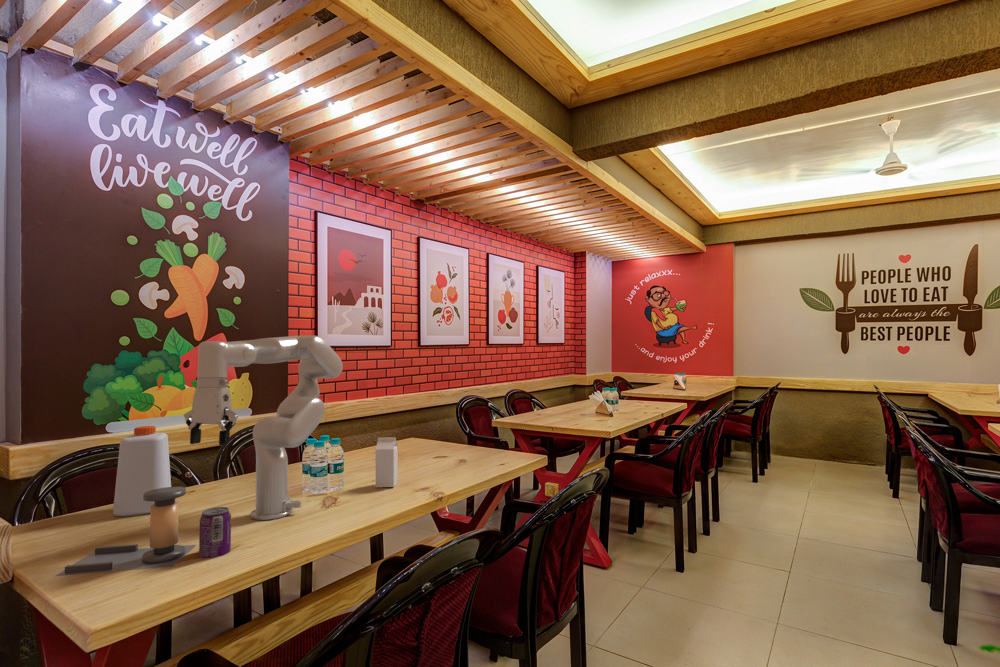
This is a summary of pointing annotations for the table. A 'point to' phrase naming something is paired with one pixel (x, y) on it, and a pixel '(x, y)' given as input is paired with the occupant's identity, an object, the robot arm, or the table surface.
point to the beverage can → (215, 532)
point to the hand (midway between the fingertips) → (209, 443)
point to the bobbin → (164, 525)
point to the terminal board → (116, 560)
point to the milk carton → (386, 462)
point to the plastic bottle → (141, 470)
